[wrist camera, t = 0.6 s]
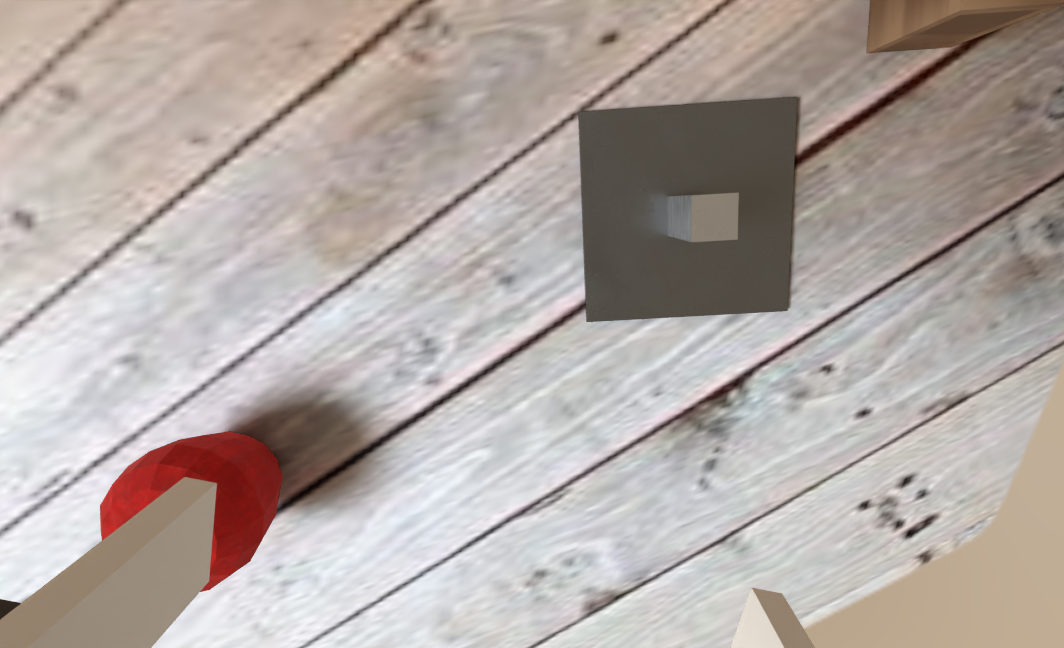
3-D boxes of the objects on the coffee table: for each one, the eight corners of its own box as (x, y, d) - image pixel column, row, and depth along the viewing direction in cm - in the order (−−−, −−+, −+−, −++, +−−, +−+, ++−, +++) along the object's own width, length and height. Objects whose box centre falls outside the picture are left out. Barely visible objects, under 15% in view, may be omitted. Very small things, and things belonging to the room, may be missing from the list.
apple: (272, 542, 43) (184, 655, 32) (163, 482, 42) (34, 578, 31) (330, 447, 41) (256, 533, 30) (217, 382, 40) (99, 448, 29)
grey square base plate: (578, 112, 35) (585, 93, 29) (794, 98, 35) (850, 75, 28) (586, 320, 38) (594, 344, 32) (784, 309, 38) (832, 331, 31)
